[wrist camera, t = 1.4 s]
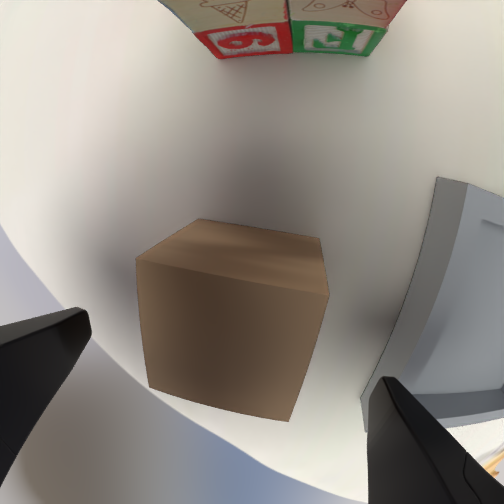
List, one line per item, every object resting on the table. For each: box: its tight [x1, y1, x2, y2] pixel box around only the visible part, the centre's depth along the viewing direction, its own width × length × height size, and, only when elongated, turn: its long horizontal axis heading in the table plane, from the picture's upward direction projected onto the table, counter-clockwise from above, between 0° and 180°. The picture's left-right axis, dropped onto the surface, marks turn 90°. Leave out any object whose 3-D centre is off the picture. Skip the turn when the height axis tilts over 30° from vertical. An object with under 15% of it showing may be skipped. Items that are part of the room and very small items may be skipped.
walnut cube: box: [136, 219, 329, 422], centre depth 10 cm, size 5×5×5 cm
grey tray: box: [360, 177, 504, 432], centre depth 9 cm, size 12×12×2 cm
